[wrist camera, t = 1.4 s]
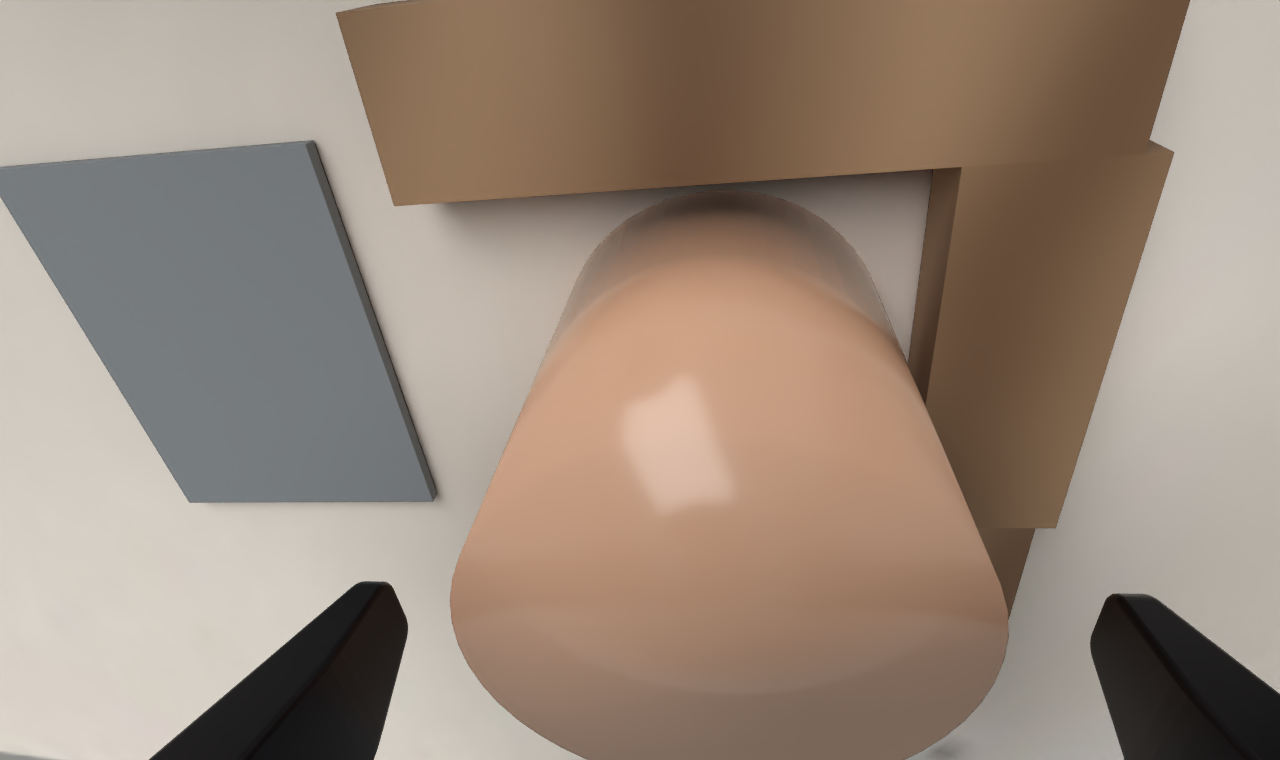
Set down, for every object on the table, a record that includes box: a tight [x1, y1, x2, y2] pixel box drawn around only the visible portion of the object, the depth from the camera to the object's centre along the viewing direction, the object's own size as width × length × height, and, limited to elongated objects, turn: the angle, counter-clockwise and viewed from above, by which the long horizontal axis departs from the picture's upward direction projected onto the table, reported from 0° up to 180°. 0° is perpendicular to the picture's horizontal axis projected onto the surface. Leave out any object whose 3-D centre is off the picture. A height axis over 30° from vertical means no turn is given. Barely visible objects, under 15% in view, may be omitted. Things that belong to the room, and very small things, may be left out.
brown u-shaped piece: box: [336, 0, 1190, 620], centre depth 14 cm, size 12×14×2 cm
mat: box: [0, 140, 437, 503], centre depth 16 cm, size 7×9×1 cm
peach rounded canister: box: [450, 190, 1009, 760], centre depth 12 cm, size 10×7×8 cm
